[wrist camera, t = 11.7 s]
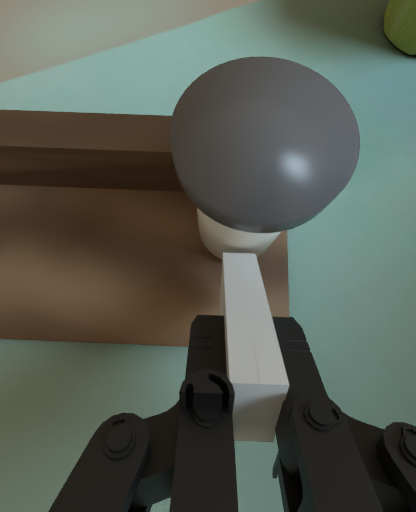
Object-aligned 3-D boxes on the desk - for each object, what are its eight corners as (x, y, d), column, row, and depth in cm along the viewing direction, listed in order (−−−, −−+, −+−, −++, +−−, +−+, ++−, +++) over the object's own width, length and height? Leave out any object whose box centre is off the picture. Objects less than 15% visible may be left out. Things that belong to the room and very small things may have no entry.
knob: (286, 275, 15) (368, 226, 7) (185, 271, 15) (162, 217, 8) (284, 183, 17) (351, 59, 9) (191, 179, 17) (176, 53, 9)
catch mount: (284, 349, 16) (319, 361, 11) (-167, 329, 16) (-333, 332, 11) (281, 174, 18) (307, 120, 13) (-108, 159, 18) (-220, 101, 14)
